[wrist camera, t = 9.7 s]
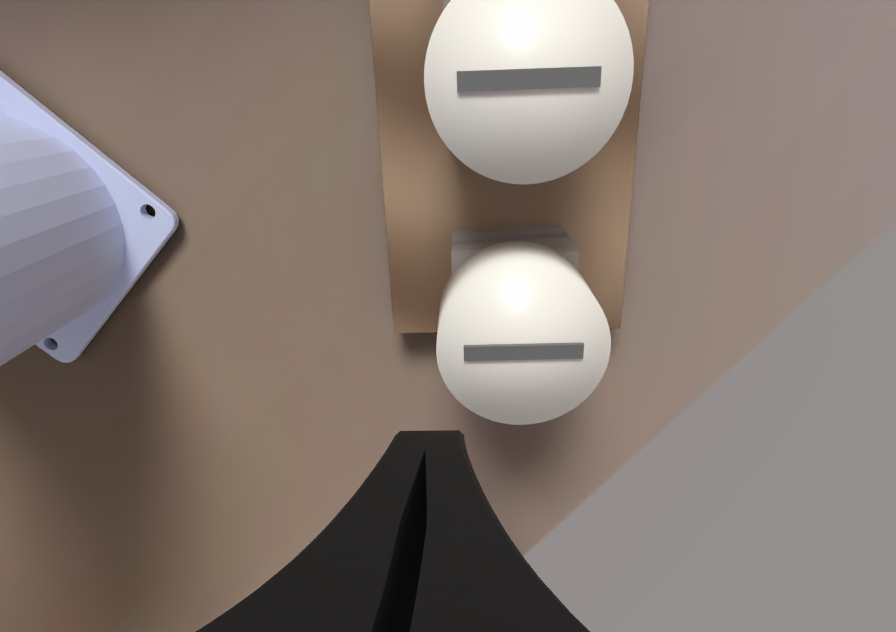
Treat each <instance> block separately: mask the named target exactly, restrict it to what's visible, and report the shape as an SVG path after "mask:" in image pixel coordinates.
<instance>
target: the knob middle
mask: <svg viewBox="0 0 896 632" xmlns="http://www.w3.org/2000/svg"><path fill="white" fill-rule="evenodd" d="M633 72H634V58H633V48H632V42H631V38H630V34H629V30H628V27H627V25H626V22H625V19H624V17H623V15H622V13H621V11H620V9H619V8H618V6H617V4H616V3H615V1H614V0H451V1H450V2H449V3H448V5H447V6H446V8H445V9H444V10H443V12H442V14H441V16H440V17H439V19H438V21H437V23H436V25H435V27H434V30H433V32H432V35H431V37H430V41H429V44H428V48H427V52H426V58H425V66H424V88H425V97H426V102H427V106H428V110H429V113H430V116H431V119H432V121H433V124H434V126H435V128H436V130H437V132H438V134H439V136H440V137H441V139H442V140H443V142H444V143H445V145H446V146H447V147H448V149H449V150H450V151H451V152H452V153H453V154H454V155H455V156H456V157H457V158H458V159H459V160H460V161H461V162H463V163H464V164H465V165H466V166H468V167H469V168H471V169H472V170H474V171H475V172H477V173H479V174H481V175H483V176H485V177H487V178H490V179H493V180H496V181H500V182H504V183H510V184H537V183H542V182H547V181H551V180H554V179H557V178H559V177H562V176H565V175H567V174H569V173H570V172H572V171H574V170H576V169H578V168H579V167H581V166H582V165H583V164H585V163H586V162H588V161H589V160H590V159H591V158H592V157H593V156H595V155H596V154H597V153H598V152H599V151H600V150H601V148H602V147H603V146H604V145H605V144H606V143H607V142H608V140H609V139H610V137H611V136H612V134H613V133H614V132H615V130H616V128H617V126H618V125H619V123H620V121H621V119H622V117H623V114H624V112H625V109H626V107H627V104H628V101H629V97H630V93H631V89H632V82H633Z"/></svg>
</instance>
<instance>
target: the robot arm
mask: <svg viewBox="0 0 896 632" xmlns="http://www.w3.org/2000/svg"><path fill="white" fill-rule="evenodd" d="M147 204H148V205H150V206H152V207H153V208H154V209H155V213H156V214H155V217H153V216H151V215H149V214H148V213H147V211H146V206H147ZM178 225H179V218H178V216H177V214H176V212H175V211H174V210H173V209H172V208H170V207H169V206H168V205H167V204H165V203H164V202H163V201H162V200H161V199H159V198H158V197H157V196H156V195H154V194H153V193H152V192H151V191H149V190H148V189H147V188H146V187H144V186H143V185H142V184H141V183H139V182H138V181H137V180H136V179H134V178H133V177H132V176H131V175H129V174H128V173H127V172H126V171H125V170H123V169H122V168H121V167H120V166H118V165H117V164H116V163H115V162H113V161H112V160H111V159H110V158H108V157H107V156H106V155H105V154H103V153H102V152H101V151H100V150H98V149H97V148H96V147H95V146H93V145H92V144H91V143H90V142H89V141H87V140H86V139H85V138H84V137H82V136H81V135H80V134H79V133H77V132H76V131H75V130H74V129H72V128H71V127H70V126H69V125H67V124H66V123H65V122H64V121H62V120H61V119H60V118H59V117H57V116H56V115H55V114H54V113H52V112H51V111H50V110H49V109H48V108H46V107H45V106H44V105H43V104H41V103H40V102H39V101H38V100H36V99H35V98H34V97H33V96H31V95H30V94H29V93H28V92H26V91H25V90H24V89H23V88H21V87H20V86H19V85H18V84H16V83H15V82H14V81H13V80H12V79H10V78H9V77H8V76H7V75H5V74H4V73H3V72H2V71H0V366H1V365H3V364H5V363H6V362H8V361H9V360H11V359H12V358H14V357H16V356H17V355H19V354H20V353H22V352H24V351H25V350H27V349H28V348H30V347H32V346H33V345H36V346H37V347H39V348H40V349H42V350H43V351H45V352H46V353H48V354H49V355H50V356H52V357H53V358H55V359H56V360H58V361H60V362H63V363H70V362H72V361H74V360H75V359H76V358H78V357H79V356H80V355H81V353H82V352H83V351H84V349H85V348H86V347H87V345H88V344H89V343H90V342H91V340H92V339H93V338H94V336H95V335H96V334H97V332H98V331H99V330H100V328H101V327H102V326H103V325H104V323H105V322H106V321H107V319H108V318H109V317H110V315H111V314H112V313H113V312H114V310H115V309H116V308H117V306H118V305H119V304H120V302H121V301H122V300H123V298H124V297H125V296H126V295H127V293H128V292H129V291H130V289H131V288H132V287H133V285H134V284H135V283H136V281H137V280H138V279H139V278H140V276H141V275H142V274H143V272H144V271H145V270H146V268H147V267H148V266H149V265H150V263H151V262H152V261H153V259H154V258H155V257H156V255H157V254H158V253H159V251H160V250H161V249H162V248H163V246H164V245H165V244H166V242H167V241H168V240H169V238H170V237H171V236H172V234H173V233H174V232H175V231H176V229H177V227H178ZM50 338H52V339H54V340H55V341H56V342H57V345H58V346H57V345H55V344H53V343H52V342H51V339H50ZM196 632H590V631H589V630H588V629H587V628H586V627H585V626H584V625H583V624H582V623H580V621H579V620H578V619H576V618H575V617H574V616H573V615H572V614H571V613H570V612H569V610H568V609H567V608H566V607H565V606H564V605H563V604H562V603H561V601H560V600H559V599H558V598H557V597H556V596H555V595H554V594H553V593H552V591H551V590H550V589H549V588H548V587H547V586H546V585H545V584H544V583H543V582H542V580H541V579H540V578H539V577H538V575H537V574H536V573H535V572H534V571H533V569H532V568H531V566H530V565H529V564H528V563H527V561H526V560H525V559H524V557H523V556H522V555H521V553H520V552H519V550H518V549H517V548H516V546H515V545H514V543H513V542H512V540H511V539H510V537H509V536H508V534H507V533H506V531H505V530H504V528H503V526H502V525H501V523H500V521H499V520H498V518H497V516H496V515H495V513H494V511H493V509H492V508H491V506H490V504H489V502H488V500H487V498H486V496H485V494H484V492H483V490H482V488H481V486H480V484H479V482H478V480H477V477H476V475H475V473H474V470H473V468H472V465H471V462H470V460H469V457H468V454H467V450H466V446H465V441H464V435H463V434H462V433H461V432H460V431H459V430H458V431H400V432H399V433H398V434H397V435H396V436H395V437H394V439H393V440H392V442H391V444H390V445H389V447H388V449H387V450H386V452H385V453H384V455H383V456H382V458H381V459H380V461H379V462H378V464H377V465H376V466H375V468H374V469H373V471H372V472H371V473H370V475H369V476H368V477H367V479H366V480H365V481H364V483H363V484H362V485H361V487H360V488H359V489H358V491H357V492H356V493H355V494H354V496H353V497H352V498H351V499H350V500H349V502H348V503H347V504H346V505H345V506H344V507H343V509H342V510H341V511H340V512H339V513H338V514H337V516H336V517H335V518H334V519H333V520H332V521H331V522H330V523H329V525H328V526H327V527H326V528H325V529H324V530H323V531H322V532H321V533H320V534H319V535H318V536H317V537H316V538H315V539H314V540H313V541H312V542H311V543H310V544H309V545H308V546H307V547H306V548H305V549H304V550H303V551H302V552H301V553H300V554H299V555H298V556H296V557H295V558H294V559H293V560H292V561H291V562H290V563H288V564H287V565H286V566H285V567H284V568H283V569H282V570H280V571H279V572H278V573H277V574H276V575H274V576H273V577H272V578H271V579H270V580H268V581H267V582H266V583H265V584H263V585H262V586H261V587H260V588H259V589H257V590H256V591H255V592H253V593H252V594H251V595H249V596H248V597H246V598H245V599H244V600H242V601H241V602H240V603H238V604H237V605H235V606H234V607H233V608H231V609H230V610H228V611H227V612H225V613H224V614H222V615H221V616H219V617H218V618H216V619H215V620H213V621H212V622H210V623H209V624H207V625H206V626H204V627H203V628H201V629H200V630H198V631H196Z"/></svg>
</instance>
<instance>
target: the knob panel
mask: <svg viewBox="0 0 896 632" xmlns="http://www.w3.org/2000/svg"><path fill="white" fill-rule="evenodd" d="M450 1H451V0H369V4H370V17H371V30H372V44H373V57H374V70H375V84H376V97H377V110H378V124H379V137H380V150H381V164H382V177H383V190H384V204H385V217H386V230H387V244H388V257H389V270H390V284H391V297H392V310H393V324H394V333H430V332H437V331H438V320H439V309H440V302H441V297H442V294H443V291H444V288H445V286H446V284H447V282H448V280H449V279H450V277H451V276H452V274H453V273H454V271H455V270H456V269H457V268H458V267H459V266H460V265H461V264H462V263H463V262H464V261H465V260H466V259H467V258H469V257H470V256H472V255H473V254H475V253H476V252H478V251H480V250H482V249H484V248H486V247H489V246H492V245H495V244H499V243H504V242H513V241H524V242H532V243H537V244H540V245H544V246H547V247H549V248H551V249H553V250H555V251H557V252H558V253H560V254H562V255H563V256H565V257H566V258H567V259H568V260H569V261H570V262H572V264H573V265H574V266H575V267H576V268H577V269H578V271H579V272H580V274H581V275H582V277H583V278H584V280H585V282H586V283H587V285H588V287H589V288H590V290H591V292H592V293H593V295H594V297H595V298H596V300H597V301H598V303H599V305H600V306H601V308H602V310H603V312H604V314H605V316H606V319H607V322H608V325H609V329H615V328H620V324H621V312H622V301H623V290H624V278H625V267H626V256H627V245H628V233H629V222H630V211H631V199H632V188H633V177H634V165H635V154H636V143H637V132H638V120H639V109H640V98H641V86H642V75H643V64H644V53H645V41H646V30H647V19H648V7H649V0H614V1H615V3H616V4H617V6H618V8H619V9H620V11H621V13H622V15H623V17H624V19H625V22H626V25H627V27H628V30H629V34H630V38H631V42H632V48H633V58H634V72H633V82H632V89H631V93H630V97H629V101H628V104H627V107H626V109H625V112H624V114H623V117H622V119H621V121H620V123H619V125H618V126H617V128H616V130H615V132H614V133H613V134H612V136H611V137H610V139H609V140H608V142H607V143H606V144H605V145H604V146H603V147H602V148H601V150H600V151H599V152H598V153H597V154H596V155H595V156H593V157H592V158H591V159H590V160H589V161H588V162H586V163H585V164H583V165H582V166H581V167H579V168H578V169H576V170H574V171H572V172H570V173H569V174H567V175H565V176H562V177H559V178H557V179H554V180H551V181H547V182H542V183H537V184H510V183H504V182H500V181H496V180H493V179H490V178H487V177H485V176H483V175H481V174H479V173H477V172H475V171H474V170H472V169H471V168H469V167H468V166H466V165H465V164H464V163H463V162H461V161H460V160H459V159H458V158H457V157H456V156H455V155H454V154H453V153H452V152H451V151H450V150H449V149H448V147H447V146H446V145H445V143H444V142H443V140H442V139H441V137H440V136H439V134H438V132H437V130H436V128H435V126H434V124H433V121H432V119H431V116H430V113H429V110H428V106H427V102H426V97H425V88H424V66H425V58H426V52H427V48H428V44H429V41H430V37H431V35H432V32H433V30H434V27H435V25H436V23H437V21H438V19H439V17H440V16H441V14H442V12H443V10H444V9H445V8H446V6H447V5H448V3H449V2H450Z"/></svg>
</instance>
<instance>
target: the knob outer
mask: <svg viewBox="0 0 896 632" xmlns="http://www.w3.org/2000/svg"><path fill="white" fill-rule="evenodd" d="M610 350H611V336H610V329H609V325H608V322H607V319H606V316H605V314H604V312H603V310H602V308H601V306H600V305H599V303H598V301H597V300H596V298H595V297H594V295H593V293H592V292H591V290H590V288H589V287H588V285H587V283H586V282H585V280H584V278H583V277H582V275H581V274H580V272H579V271H578V269H577V268H576V267H575V266H574V265H573V264H572V262H570V261H569V260H568V259H567V258H566V257H565V256H563V255H562V254H560V253H558V252H557V251H555V250H553V249H551V248H549V247H547V246H544V245H540V244H537V243H532V242H524V241H513V242H504V243H499V244H495V245H492V246H489V247H486V248H484V249H482V250H480V251H478V252H476V253H475V254H473V255H472V256H470V257H469V258H467V259H466V260H465V261H464V262H463V263H462V264H461V265H460V266H459V267H458V268H457V269H456V270H455V271H454V273H453V274H452V276H451V277H450V279H449V280H448V282H447V284H446V286H445V288H444V291H443V294H442V297H441V302H440V309H439V320H438V331H437V342H436V355H437V363H438V367H439V371H440V374H441V376H442V378H443V381H444V383H445V384H446V386H447V388H448V389H449V391H450V392H451V393H452V394H453V396H454V397H455V398H456V399H457V400H458V401H459V402H460V403H461V404H462V405H463V406H465V407H466V408H468V409H469V410H470V411H472V412H474V413H476V414H477V415H479V416H481V417H484V418H486V419H489V420H492V421H495V422H499V423H504V424H511V425H527V424H536V423H541V422H545V421H549V420H552V419H555V418H557V417H559V416H562V415H564V414H566V413H567V412H569V411H571V410H573V409H574V408H575V407H577V406H578V405H579V404H581V403H582V402H583V401H584V400H585V399H586V398H587V397H588V396H589V395H590V394H591V393H592V392H593V391H594V389H595V388H596V387H597V385H598V384H599V382H600V381H601V379H602V377H603V375H604V373H605V370H606V368H607V365H608V361H609V357H610Z"/></svg>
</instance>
